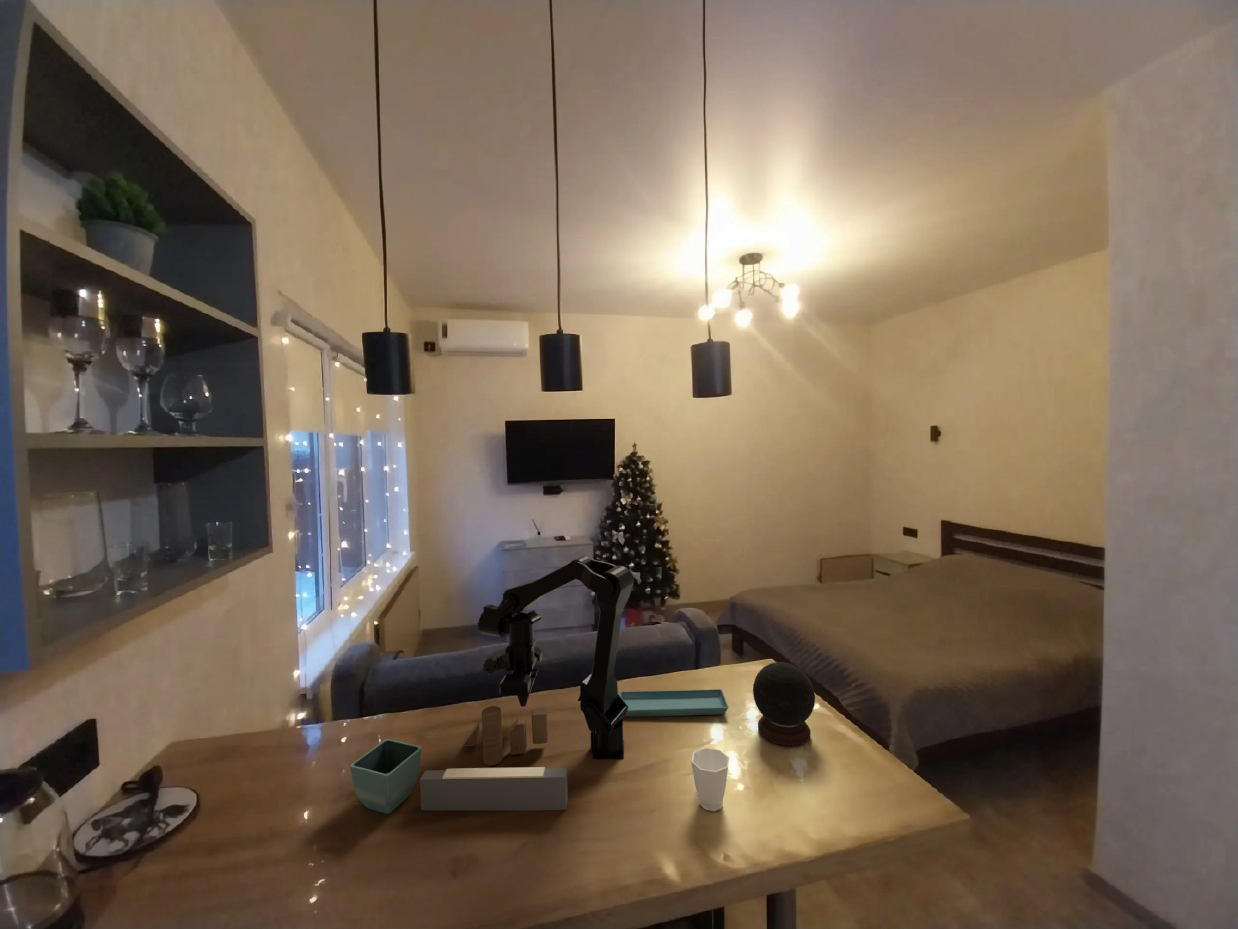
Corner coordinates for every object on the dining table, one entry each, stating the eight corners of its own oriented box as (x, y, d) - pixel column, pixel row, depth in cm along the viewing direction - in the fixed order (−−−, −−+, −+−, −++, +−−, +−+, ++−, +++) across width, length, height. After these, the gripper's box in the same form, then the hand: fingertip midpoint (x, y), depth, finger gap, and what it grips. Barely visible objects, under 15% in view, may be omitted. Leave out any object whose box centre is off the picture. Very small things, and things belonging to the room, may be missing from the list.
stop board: (567, 800, 91) (566, 766, 91) (566, 810, 89) (565, 775, 89) (426, 802, 92) (425, 769, 92) (421, 812, 89) (419, 777, 89)
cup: (696, 818, 86) (695, 773, 86) (683, 780, 96) (683, 739, 96) (736, 815, 87) (735, 770, 87) (719, 777, 97) (718, 736, 97)
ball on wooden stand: (743, 733, 111) (742, 667, 110) (768, 708, 121) (767, 647, 120) (802, 756, 102) (801, 684, 102) (824, 727, 112) (823, 662, 112)
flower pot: (425, 792, 95) (423, 746, 94) (389, 826, 86) (387, 775, 86) (388, 782, 98) (386, 738, 97) (350, 815, 89) (348, 766, 89)
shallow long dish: (618, 719, 119) (618, 709, 119) (619, 699, 128) (619, 690, 128) (729, 718, 118) (729, 707, 118) (722, 698, 127) (722, 688, 127)
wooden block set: (549, 739, 111) (547, 692, 111) (546, 761, 102) (544, 710, 102) (466, 747, 109) (464, 699, 110) (456, 769, 101) (454, 717, 101)
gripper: (497, 625, 124) (499, 686, 125) (473, 657, 106) (476, 729, 106) (541, 624, 124) (543, 686, 125) (526, 656, 106) (528, 728, 106)
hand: (523, 705), depth 116 cm, fingers closed
